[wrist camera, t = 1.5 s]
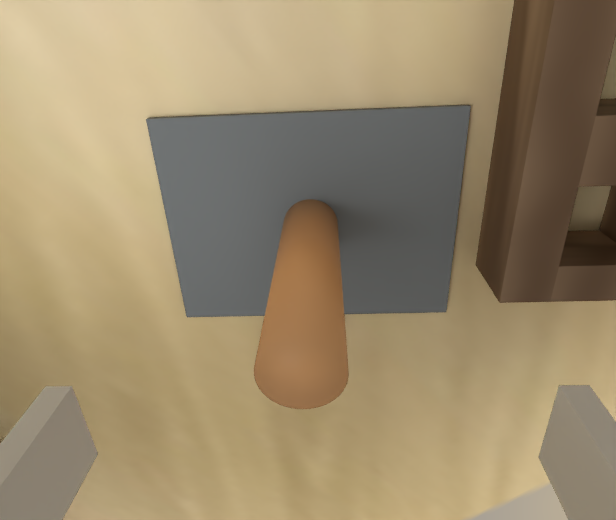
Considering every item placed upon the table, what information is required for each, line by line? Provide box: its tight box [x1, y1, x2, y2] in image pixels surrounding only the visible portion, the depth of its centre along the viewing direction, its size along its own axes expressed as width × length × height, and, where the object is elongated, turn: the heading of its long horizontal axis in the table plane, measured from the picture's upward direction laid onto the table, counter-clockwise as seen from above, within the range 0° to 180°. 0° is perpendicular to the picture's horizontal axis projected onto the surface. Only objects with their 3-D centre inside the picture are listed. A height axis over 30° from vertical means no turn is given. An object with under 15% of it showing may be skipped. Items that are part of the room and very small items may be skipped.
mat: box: [146, 105, 471, 317], centre depth 25 cm, size 16×12×1 cm
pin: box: [254, 199, 349, 409], centre depth 20 cm, size 3×3×12 cm
